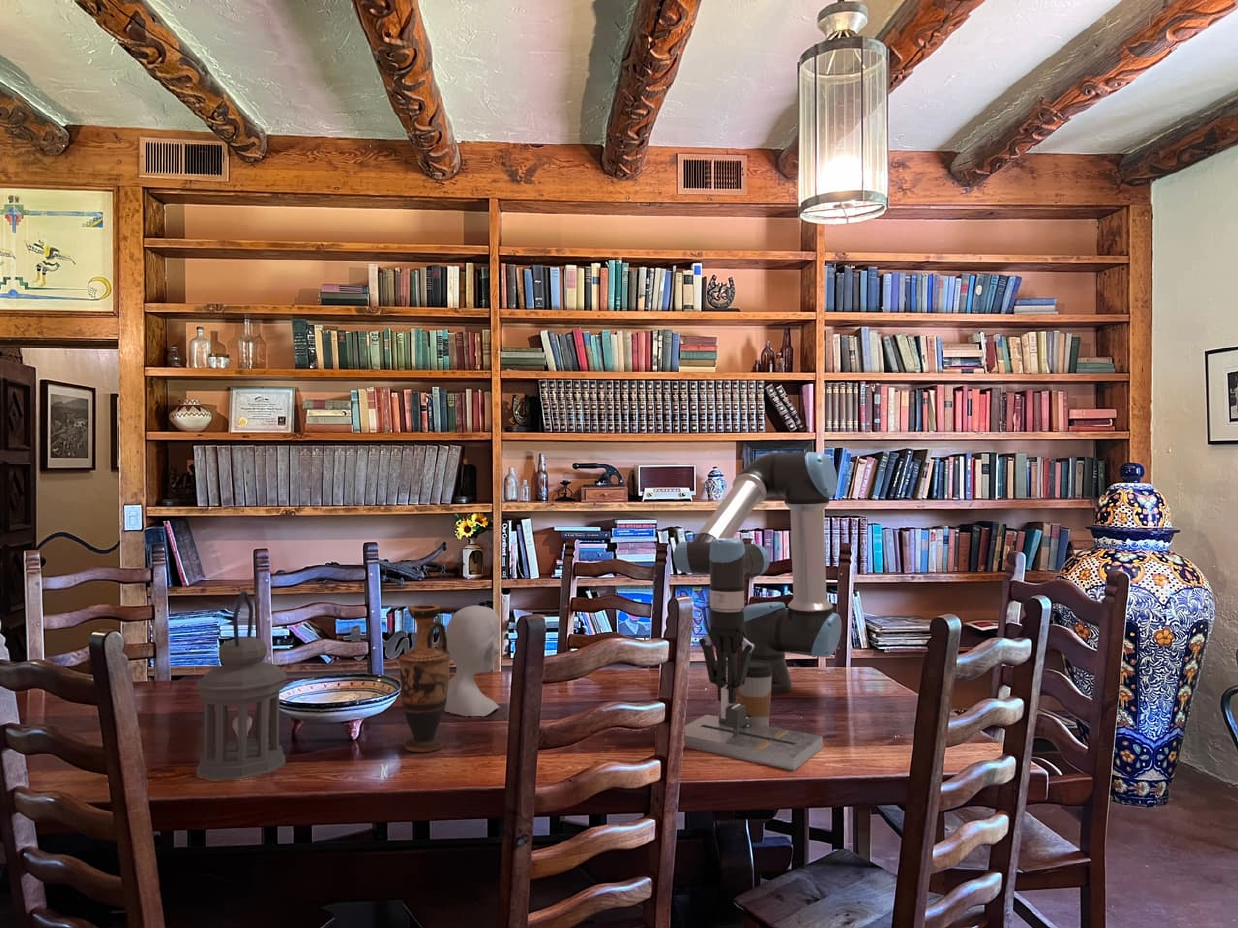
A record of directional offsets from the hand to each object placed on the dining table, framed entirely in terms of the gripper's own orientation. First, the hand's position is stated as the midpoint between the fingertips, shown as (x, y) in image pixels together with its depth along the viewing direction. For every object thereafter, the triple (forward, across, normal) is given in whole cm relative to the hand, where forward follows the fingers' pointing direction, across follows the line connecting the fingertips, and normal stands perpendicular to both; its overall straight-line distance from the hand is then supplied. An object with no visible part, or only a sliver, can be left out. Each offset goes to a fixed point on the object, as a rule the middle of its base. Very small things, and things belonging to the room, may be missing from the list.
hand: (727, 716), depth 175 cm
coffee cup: (+6, +1, +12) cm, 13 cm away
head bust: (+6, -67, -11) cm, 68 cm away
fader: (+5, +2, 0) cm, 6 cm away
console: (+5, +5, 0) cm, 7 cm away
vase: (+6, -52, -40) cm, 66 cm away
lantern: (+6, -73, -69) cm, 101 cm away
